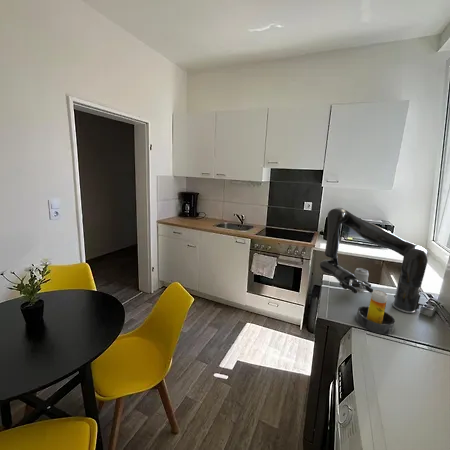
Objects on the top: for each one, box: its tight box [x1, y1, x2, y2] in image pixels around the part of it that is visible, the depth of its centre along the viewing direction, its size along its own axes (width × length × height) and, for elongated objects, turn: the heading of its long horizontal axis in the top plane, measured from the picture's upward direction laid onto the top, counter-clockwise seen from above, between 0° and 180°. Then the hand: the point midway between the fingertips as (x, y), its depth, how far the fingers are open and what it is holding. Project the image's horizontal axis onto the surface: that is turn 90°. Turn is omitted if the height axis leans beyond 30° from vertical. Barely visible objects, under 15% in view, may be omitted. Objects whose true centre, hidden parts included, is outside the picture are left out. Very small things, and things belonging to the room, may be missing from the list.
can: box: [353, 267, 370, 292], centre depth 146 cm, size 8×8×12 cm
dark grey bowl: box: [355, 305, 396, 335], centre depth 112 cm, size 15×15×4 cm
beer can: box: [367, 289, 388, 324], centre depth 111 cm, size 6×6×15 cm
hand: (364, 291), depth 119 cm, fingers open, 8 cm apart
